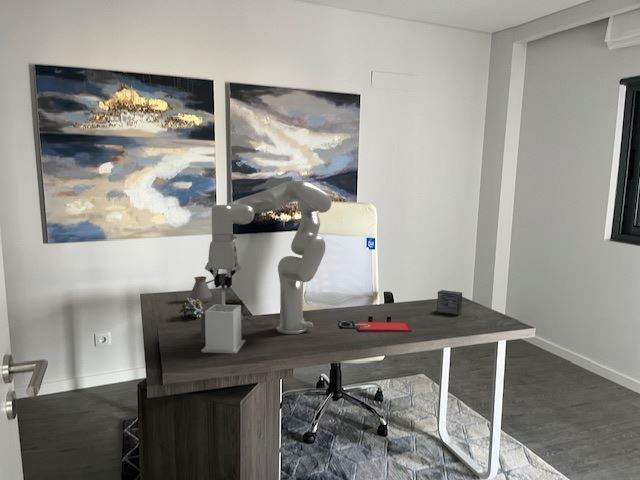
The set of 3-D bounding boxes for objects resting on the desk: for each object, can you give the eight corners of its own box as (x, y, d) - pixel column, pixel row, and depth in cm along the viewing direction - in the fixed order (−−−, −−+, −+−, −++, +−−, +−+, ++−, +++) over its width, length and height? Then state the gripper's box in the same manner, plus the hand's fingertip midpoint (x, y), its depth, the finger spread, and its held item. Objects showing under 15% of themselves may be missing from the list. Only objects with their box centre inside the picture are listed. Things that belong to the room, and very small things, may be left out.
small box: (462, 313, 229) (462, 292, 228) (458, 316, 224) (459, 294, 223) (440, 309, 235) (441, 289, 234) (436, 312, 229) (437, 291, 228)
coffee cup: (234, 335, 192) (233, 304, 191) (219, 331, 197) (218, 301, 195) (248, 329, 200) (247, 299, 198) (233, 326, 204) (233, 297, 202)
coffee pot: (188, 304, 242) (187, 275, 240) (191, 299, 253) (190, 271, 251) (230, 303, 244) (229, 275, 242) (231, 298, 255) (231, 271, 254)
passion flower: (199, 329, 217) (200, 313, 210) (175, 325, 216) (176, 308, 208) (205, 310, 226) (206, 294, 218) (182, 307, 225) (182, 290, 217)
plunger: (237, 323, 181) (236, 272, 179) (231, 330, 173) (230, 276, 170) (216, 322, 182) (215, 271, 179) (209, 329, 173) (208, 275, 171)
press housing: (245, 341, 184) (244, 304, 182) (236, 353, 171) (235, 313, 169) (208, 340, 185) (207, 303, 184) (196, 351, 172) (195, 312, 171)
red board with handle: (338, 321, 213) (340, 332, 198) (338, 315, 212) (341, 326, 197) (403, 322, 214) (411, 333, 199) (404, 316, 214) (411, 327, 199)
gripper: (247, 237, 176) (247, 285, 178) (204, 236, 178) (205, 284, 180) (241, 239, 169) (242, 290, 171) (197, 239, 170) (198, 288, 173)
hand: (223, 286), depth 175 cm, fingers closed on plunger, 3 cm apart
